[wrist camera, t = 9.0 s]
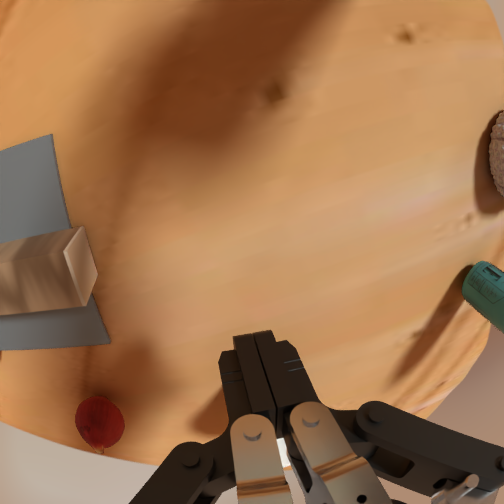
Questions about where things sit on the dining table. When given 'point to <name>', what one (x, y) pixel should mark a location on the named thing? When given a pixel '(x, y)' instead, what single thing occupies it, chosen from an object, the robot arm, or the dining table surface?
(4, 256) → the cardboard box
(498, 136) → the sea urchin shell
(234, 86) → the dining table surface
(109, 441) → the onion
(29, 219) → the grey flat slab
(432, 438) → the robot arm
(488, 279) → the beverage bottle
